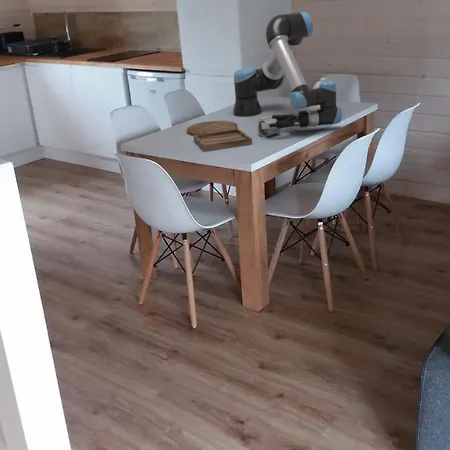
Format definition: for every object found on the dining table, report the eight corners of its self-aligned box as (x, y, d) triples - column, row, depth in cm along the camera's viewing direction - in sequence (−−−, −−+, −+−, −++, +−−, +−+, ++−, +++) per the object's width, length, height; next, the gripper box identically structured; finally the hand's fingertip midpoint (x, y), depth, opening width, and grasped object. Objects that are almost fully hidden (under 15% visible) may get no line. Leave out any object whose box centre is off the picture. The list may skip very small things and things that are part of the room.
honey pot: (333, 111, 327) (333, 76, 320) (331, 117, 315) (330, 80, 308) (308, 111, 330) (307, 77, 323) (305, 117, 319) (304, 81, 312)
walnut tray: (194, 141, 294) (193, 135, 293) (239, 134, 299) (238, 128, 298) (204, 151, 276) (203, 145, 275) (252, 144, 281) (251, 138, 280)
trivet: (176, 134, 310) (176, 130, 309) (210, 122, 327) (209, 118, 327) (214, 139, 295) (214, 135, 294) (247, 127, 312) (247, 123, 311)
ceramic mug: (282, 134, 292) (281, 117, 289) (269, 138, 287) (267, 121, 285) (266, 131, 300) (265, 115, 297) (253, 135, 295) (252, 118, 293)
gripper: (313, 132, 282) (264, 137, 281) (302, 121, 303) (256, 126, 301) (313, 115, 280) (263, 120, 278) (302, 105, 300) (255, 110, 298)
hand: (259, 123), depth 290 cm, fingers closed on ceramic mug, 9 cm apart
